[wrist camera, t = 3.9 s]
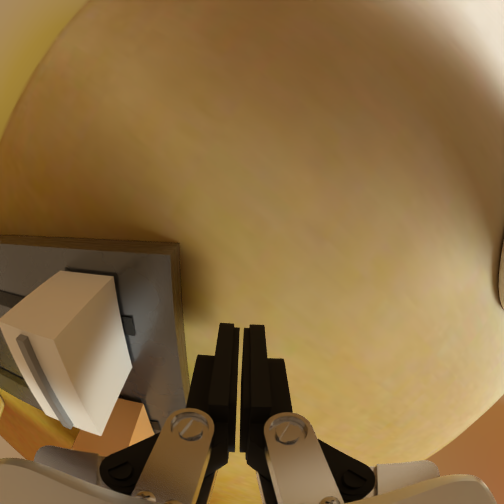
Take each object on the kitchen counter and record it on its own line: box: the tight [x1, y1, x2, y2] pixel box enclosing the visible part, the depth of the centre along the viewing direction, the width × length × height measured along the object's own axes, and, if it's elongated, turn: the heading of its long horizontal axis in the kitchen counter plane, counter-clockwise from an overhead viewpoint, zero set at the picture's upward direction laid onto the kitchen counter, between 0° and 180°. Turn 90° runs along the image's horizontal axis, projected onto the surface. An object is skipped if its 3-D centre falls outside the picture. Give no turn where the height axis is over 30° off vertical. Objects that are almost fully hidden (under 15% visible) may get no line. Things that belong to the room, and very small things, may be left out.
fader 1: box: [0, 270, 132, 436], centre depth 9 cm, size 3×5×5 cm, turn 176°
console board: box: [0, 235, 190, 434], centre depth 12 cm, size 22×15×3 cm
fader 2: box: [71, 398, 155, 457], centre depth 11 cm, size 3×5×5 cm, turn 176°
